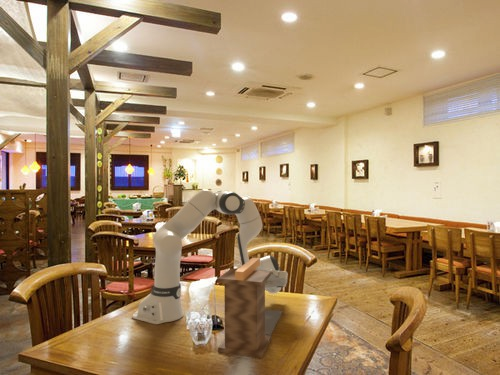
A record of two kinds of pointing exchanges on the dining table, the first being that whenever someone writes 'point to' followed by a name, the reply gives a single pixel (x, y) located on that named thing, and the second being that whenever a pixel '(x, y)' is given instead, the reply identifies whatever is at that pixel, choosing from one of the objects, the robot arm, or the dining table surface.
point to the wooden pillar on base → (245, 314)
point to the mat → (271, 320)
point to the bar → (247, 269)
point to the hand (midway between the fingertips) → (261, 270)
